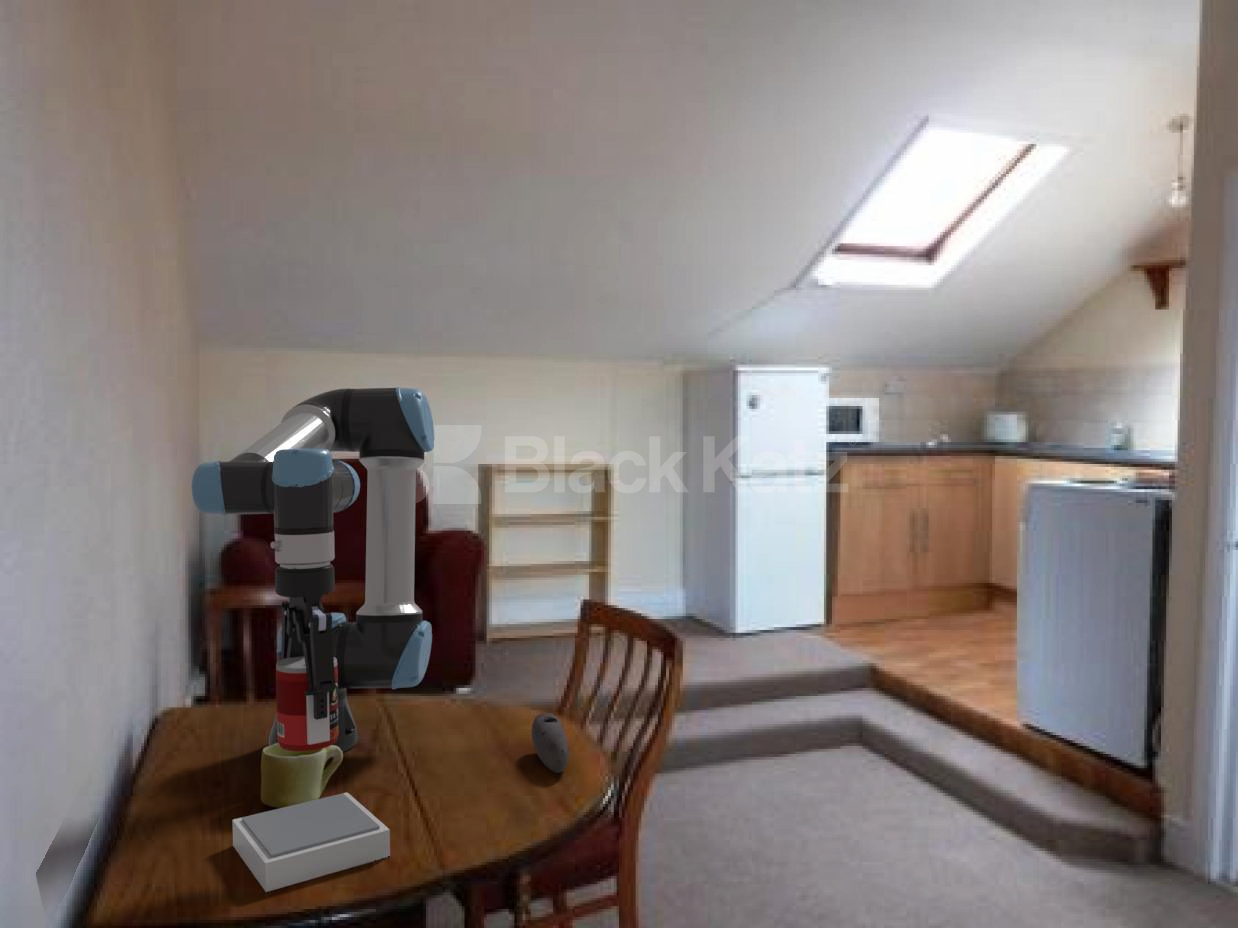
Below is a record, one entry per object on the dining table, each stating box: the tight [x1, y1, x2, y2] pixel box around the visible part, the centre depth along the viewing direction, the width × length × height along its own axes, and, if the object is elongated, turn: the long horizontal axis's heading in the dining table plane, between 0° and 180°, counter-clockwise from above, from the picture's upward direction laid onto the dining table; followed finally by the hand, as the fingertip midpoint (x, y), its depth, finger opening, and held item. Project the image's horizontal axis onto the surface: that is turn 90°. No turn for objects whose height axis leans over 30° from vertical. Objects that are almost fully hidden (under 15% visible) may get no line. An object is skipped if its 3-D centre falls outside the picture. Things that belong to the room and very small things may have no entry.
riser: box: [231, 791, 391, 893], centre depth 125 cm, size 16×16×4 cm
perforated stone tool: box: [531, 712, 569, 774], centre depth 158 cm, size 15×5×7 cm, turn 13°
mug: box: [260, 743, 344, 809], centre depth 143 cm, size 12×10×10 cm
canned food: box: [275, 656, 339, 751], centre depth 125 cm, size 8×8×11 cm
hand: (308, 733), depth 125 cm, fingers closed on canned food, 8 cm apart
